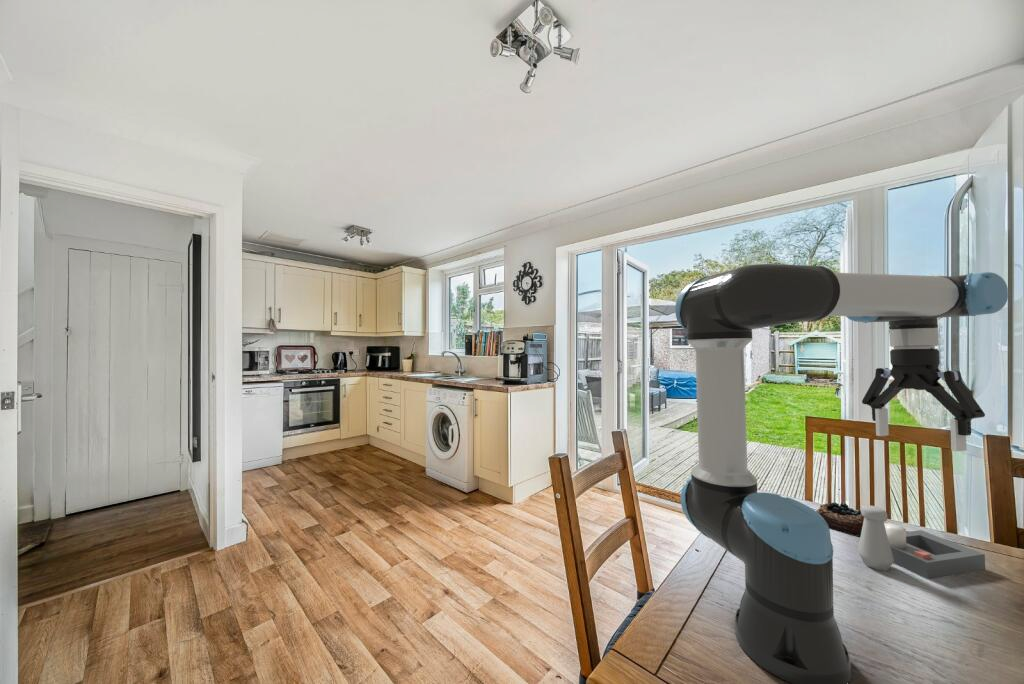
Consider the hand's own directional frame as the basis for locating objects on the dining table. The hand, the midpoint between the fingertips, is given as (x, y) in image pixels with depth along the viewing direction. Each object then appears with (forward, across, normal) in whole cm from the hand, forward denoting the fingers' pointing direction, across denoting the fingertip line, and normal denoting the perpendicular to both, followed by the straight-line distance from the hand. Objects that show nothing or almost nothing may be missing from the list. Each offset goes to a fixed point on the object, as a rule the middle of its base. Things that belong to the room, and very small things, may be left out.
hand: (917, 442), depth 82 cm
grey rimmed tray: (+28, +2, -4) cm, 28 cm away
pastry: (+28, +20, -4) cm, 35 cm away
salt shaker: (+28, +3, +9) cm, 30 cm away
